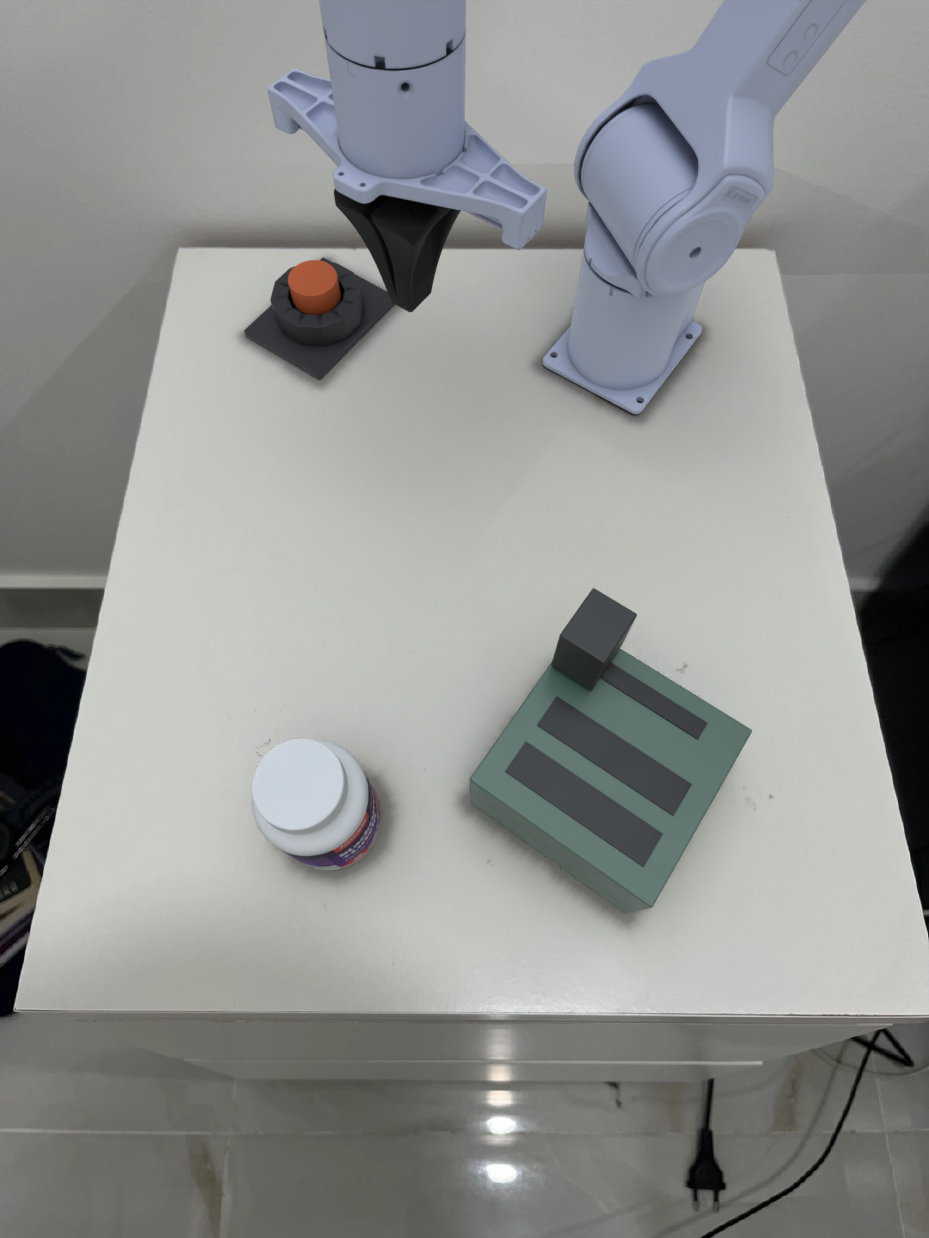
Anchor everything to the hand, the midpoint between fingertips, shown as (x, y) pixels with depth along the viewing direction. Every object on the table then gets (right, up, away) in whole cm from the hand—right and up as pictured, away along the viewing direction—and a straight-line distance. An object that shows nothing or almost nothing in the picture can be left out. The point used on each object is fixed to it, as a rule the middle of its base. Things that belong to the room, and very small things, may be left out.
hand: (411, 297), depth 43 cm
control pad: (-7, +4, +13) cm, 16 cm away
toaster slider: (+9, -20, -4) cm, 22 cm away
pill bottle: (-4, -29, -1) cm, 30 cm away
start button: (-7, +5, +11) cm, 14 cm away
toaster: (+10, -27, -1) cm, 29 cm away
